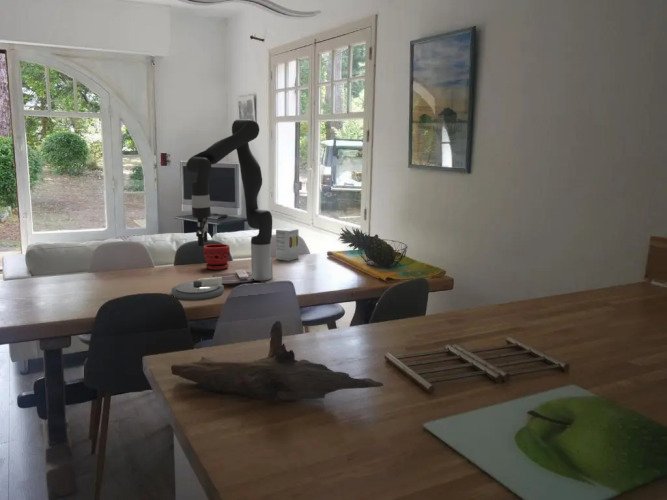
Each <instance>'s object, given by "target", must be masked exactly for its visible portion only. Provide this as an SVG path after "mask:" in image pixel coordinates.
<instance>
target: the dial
mask: <svg viewBox="0 0 667 500" xmlns="http://www.w3.org/2000/svg"><path fill="white" fill-rule="evenodd" d="M219 285H222V286H223V277H222V276H218V277H203V278H198V280H192V281H186V282H182V283H179V284H177V285H175V286H176V290H177V291H178V292H181V293H188V294H198V293H207V292H212V291H215V290H217V289H218V288H219Z"/></svg>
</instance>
